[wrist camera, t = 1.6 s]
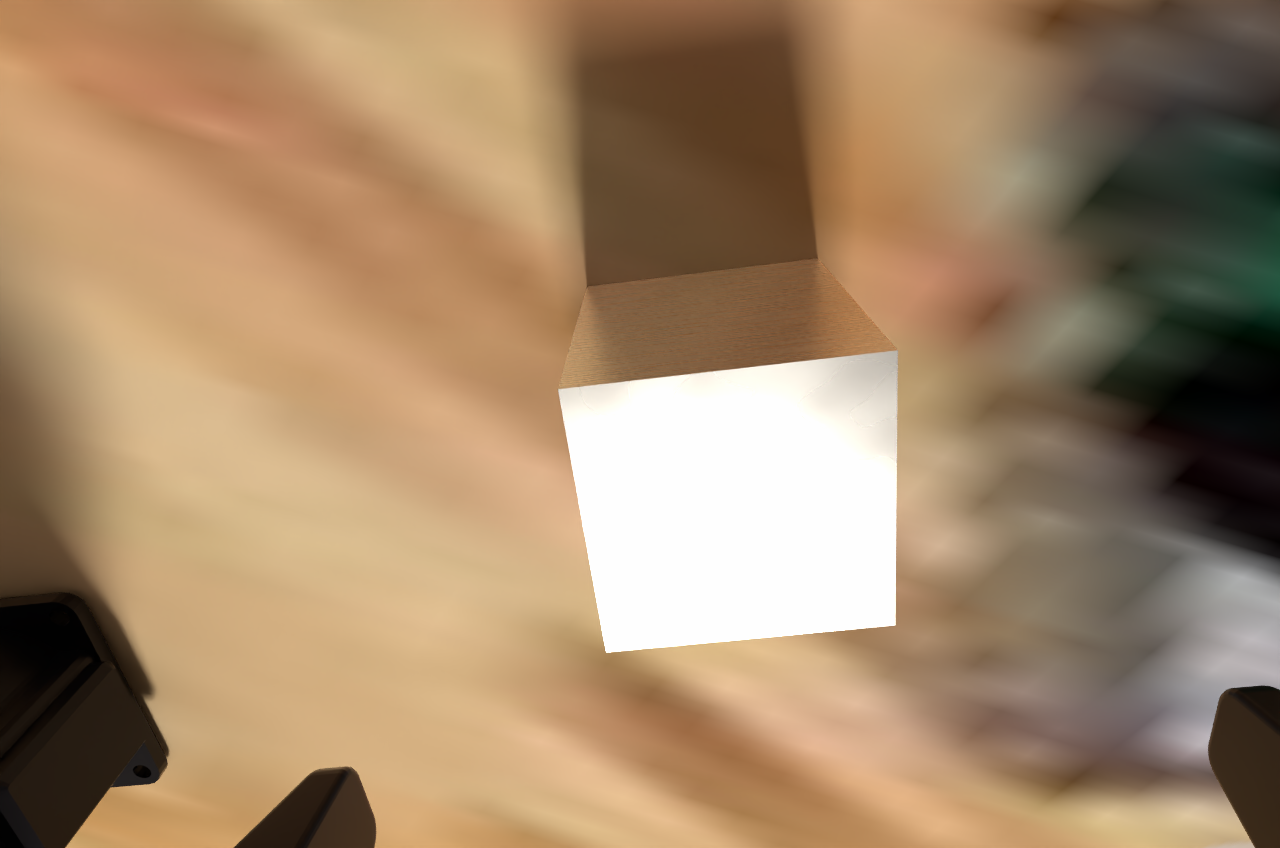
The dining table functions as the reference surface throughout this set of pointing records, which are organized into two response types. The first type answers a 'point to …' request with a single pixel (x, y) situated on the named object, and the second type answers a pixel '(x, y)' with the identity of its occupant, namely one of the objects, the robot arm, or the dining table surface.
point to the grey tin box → (733, 456)
